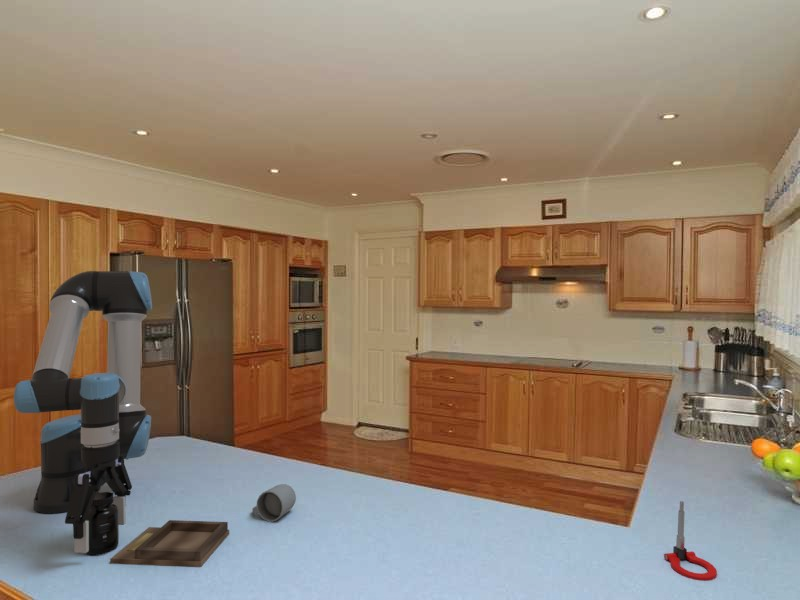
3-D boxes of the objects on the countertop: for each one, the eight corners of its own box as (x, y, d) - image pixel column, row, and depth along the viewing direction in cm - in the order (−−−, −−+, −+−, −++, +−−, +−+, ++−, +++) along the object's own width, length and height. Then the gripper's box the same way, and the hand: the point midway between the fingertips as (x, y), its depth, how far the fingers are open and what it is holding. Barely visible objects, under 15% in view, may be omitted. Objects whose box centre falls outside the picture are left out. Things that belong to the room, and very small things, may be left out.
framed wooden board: (110, 563, 112) (110, 549, 112) (149, 531, 127) (148, 518, 127) (201, 566, 110) (201, 552, 110) (229, 534, 125) (229, 521, 125)
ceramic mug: (298, 510, 139) (297, 481, 139) (282, 523, 131) (282, 493, 131) (262, 506, 142) (262, 478, 142) (245, 519, 134) (245, 489, 134)
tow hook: (726, 581, 106) (694, 556, 115) (729, 519, 105) (697, 499, 114) (688, 584, 105) (659, 559, 114) (690, 522, 104) (661, 501, 113)
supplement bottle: (82, 559, 114) (82, 504, 113) (85, 545, 120) (84, 493, 119) (118, 551, 117) (118, 498, 117) (118, 539, 123) (118, 488, 123)
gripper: (78, 460, 105) (80, 566, 106) (146, 428, 130) (147, 514, 130) (43, 460, 106) (44, 564, 106) (117, 428, 130) (118, 513, 131)
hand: (101, 537), depth 118 cm, fingers open, 12 cm apart
